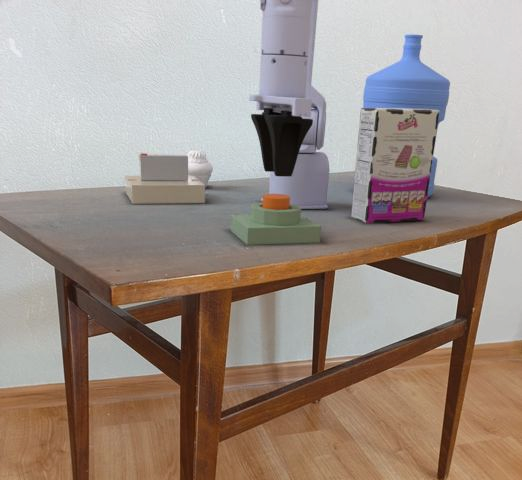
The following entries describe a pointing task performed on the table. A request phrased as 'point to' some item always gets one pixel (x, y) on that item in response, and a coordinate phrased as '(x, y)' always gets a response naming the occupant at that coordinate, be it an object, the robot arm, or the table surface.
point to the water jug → (409, 88)
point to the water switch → (275, 226)
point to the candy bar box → (393, 164)
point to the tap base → (164, 191)
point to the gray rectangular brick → (163, 167)
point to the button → (276, 201)
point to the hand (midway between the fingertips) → (277, 173)
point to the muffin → (199, 166)
